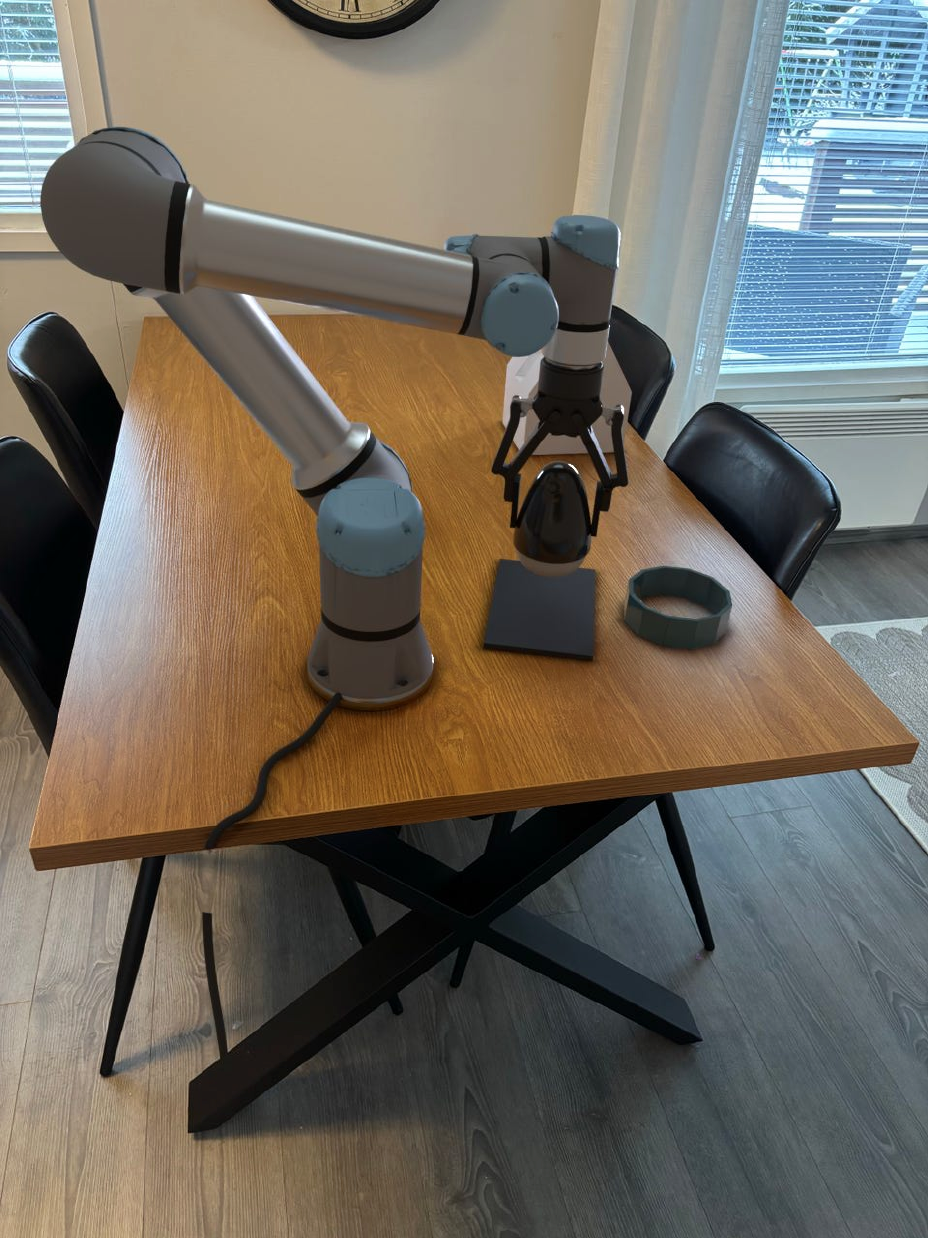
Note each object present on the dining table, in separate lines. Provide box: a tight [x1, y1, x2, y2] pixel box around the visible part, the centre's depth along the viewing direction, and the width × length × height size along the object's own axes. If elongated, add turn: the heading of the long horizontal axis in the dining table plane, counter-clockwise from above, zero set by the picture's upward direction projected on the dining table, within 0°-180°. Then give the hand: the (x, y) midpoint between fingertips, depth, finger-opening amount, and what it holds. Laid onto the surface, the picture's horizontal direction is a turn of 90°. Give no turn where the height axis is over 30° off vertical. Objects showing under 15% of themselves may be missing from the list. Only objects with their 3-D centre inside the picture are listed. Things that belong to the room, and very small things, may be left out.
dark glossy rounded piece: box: [512, 460, 592, 578], centre depth 124 cm, size 10×10×15 cm
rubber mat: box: [482, 558, 596, 662], centre depth 132 cm, size 22×14×1 cm, turn 173°
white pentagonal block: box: [502, 342, 633, 456], centre depth 176 cm, size 19×15×25 cm
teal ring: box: [623, 565, 733, 650], centre depth 130 cm, size 14×14×4 cm
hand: (553, 527), depth 125 cm, fingers closed on dark glossy rounded piece, 10 cm apart
